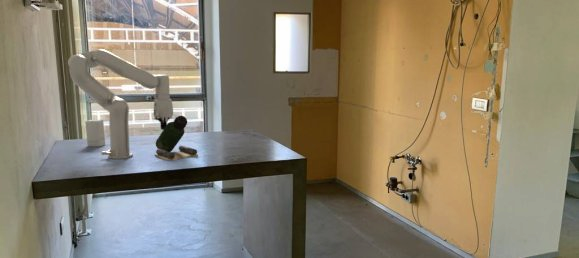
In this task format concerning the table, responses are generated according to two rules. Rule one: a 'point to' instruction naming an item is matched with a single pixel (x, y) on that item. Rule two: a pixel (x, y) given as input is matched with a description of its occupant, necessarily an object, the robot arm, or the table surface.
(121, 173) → the table surface
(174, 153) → the cradle
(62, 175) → the table surface
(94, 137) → the skincare box
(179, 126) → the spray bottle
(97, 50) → the robot arm
